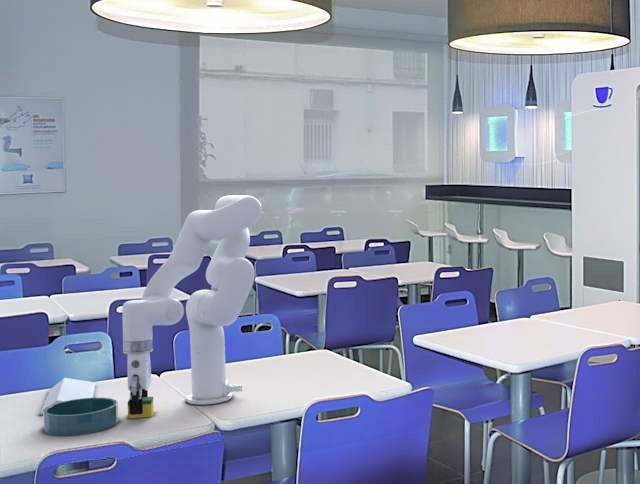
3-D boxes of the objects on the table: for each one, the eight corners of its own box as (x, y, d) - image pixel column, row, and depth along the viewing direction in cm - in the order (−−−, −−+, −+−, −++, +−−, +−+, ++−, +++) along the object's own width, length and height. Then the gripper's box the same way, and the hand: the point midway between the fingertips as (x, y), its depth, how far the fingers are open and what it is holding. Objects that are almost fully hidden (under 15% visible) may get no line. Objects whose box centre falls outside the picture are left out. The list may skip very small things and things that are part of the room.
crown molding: (89, 409, 244) (89, 396, 244) (41, 415, 239) (40, 402, 239) (93, 386, 271) (93, 374, 271) (49, 391, 267) (49, 379, 266)
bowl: (122, 413, 239) (122, 395, 239) (111, 432, 222) (110, 412, 222) (53, 418, 236) (52, 400, 235) (36, 438, 218) (35, 418, 218)
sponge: (153, 412, 240) (153, 396, 239) (151, 416, 236) (151, 400, 235) (130, 414, 238) (129, 398, 238) (128, 418, 234) (127, 401, 234)
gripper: (148, 351, 229) (149, 416, 229) (156, 340, 245) (157, 401, 246) (117, 353, 227) (118, 418, 227) (128, 341, 244) (129, 402, 244)
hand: (138, 409), depth 236 cm, fingers open, 9 cm apart
